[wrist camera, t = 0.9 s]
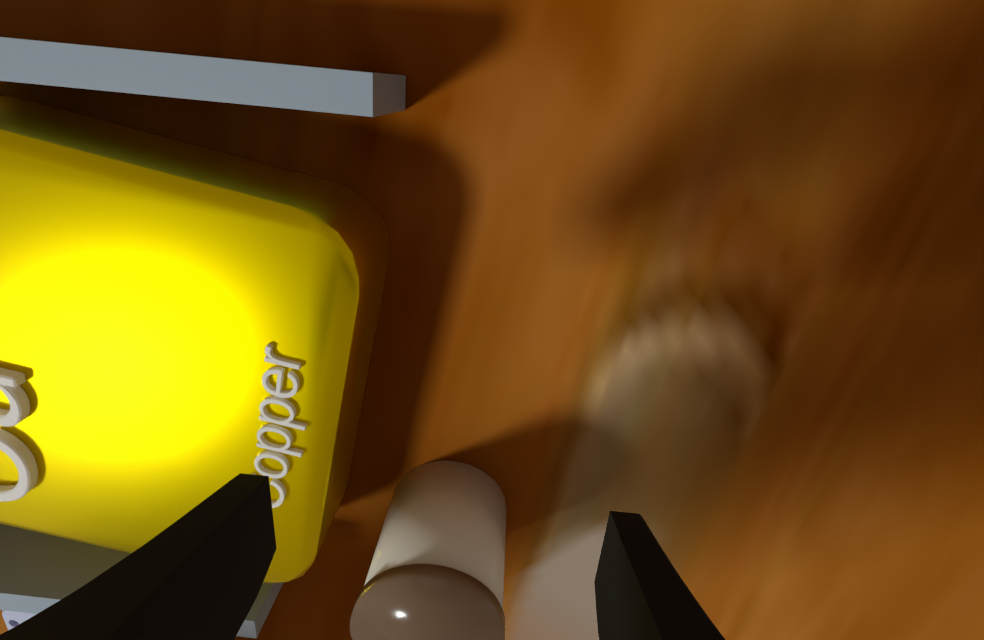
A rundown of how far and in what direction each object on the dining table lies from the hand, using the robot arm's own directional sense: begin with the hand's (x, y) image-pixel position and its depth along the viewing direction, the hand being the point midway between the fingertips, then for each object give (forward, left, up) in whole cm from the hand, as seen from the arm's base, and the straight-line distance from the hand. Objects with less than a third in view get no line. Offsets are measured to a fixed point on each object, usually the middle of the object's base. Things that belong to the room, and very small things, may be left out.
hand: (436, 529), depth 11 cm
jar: (-8, +1, -10) cm, 13 cm away
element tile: (-1, +12, -10) cm, 15 cm away
